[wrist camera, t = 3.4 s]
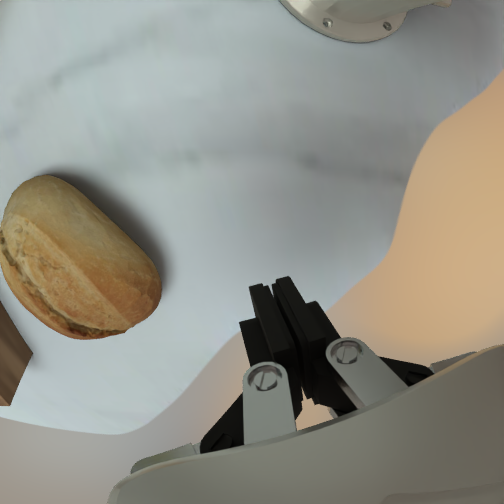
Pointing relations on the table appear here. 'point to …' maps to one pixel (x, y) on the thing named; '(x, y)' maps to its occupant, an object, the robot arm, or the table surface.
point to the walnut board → (11, 358)
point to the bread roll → (74, 262)
